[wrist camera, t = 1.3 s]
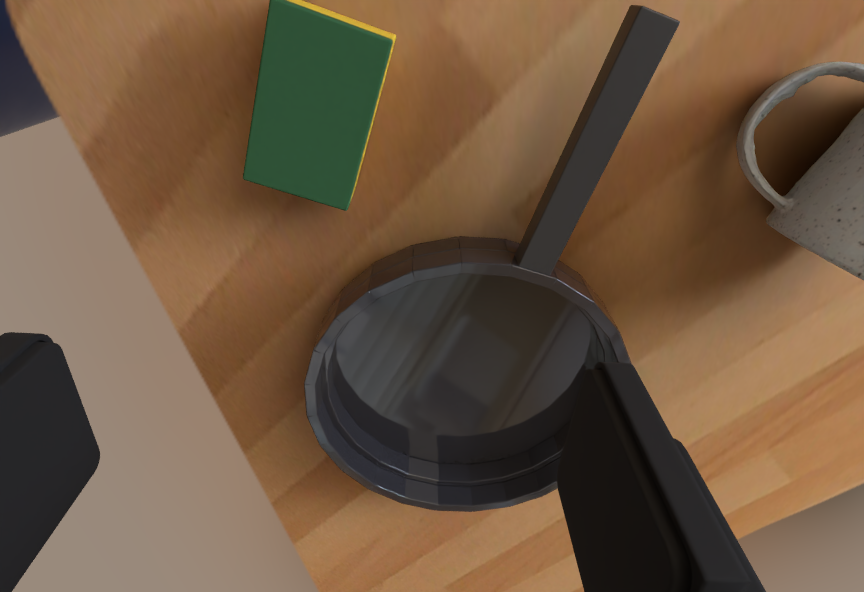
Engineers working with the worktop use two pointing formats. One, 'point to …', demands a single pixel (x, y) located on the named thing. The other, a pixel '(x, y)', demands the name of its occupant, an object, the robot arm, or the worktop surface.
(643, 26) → the pan handle
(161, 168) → the worktop surface
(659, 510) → the robot arm
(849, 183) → the ceramic mug
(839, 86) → the worktop surface
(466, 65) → the worktop surface
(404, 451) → the pan
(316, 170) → the sponge
